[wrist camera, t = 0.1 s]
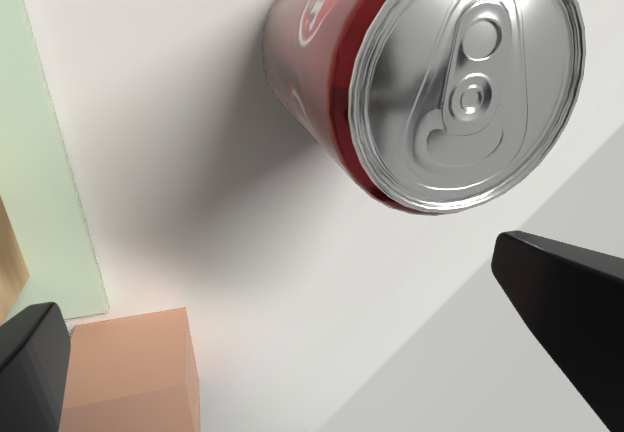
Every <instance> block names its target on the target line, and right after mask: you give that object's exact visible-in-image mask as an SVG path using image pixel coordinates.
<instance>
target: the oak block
mask: <svg viewBox="0 0 624 432" xmlns="http://www.w3.org/2000/svg"><path fill="white" fill-rule="evenodd" d="M29 277H30V274H29V272H28V269H27V266H26V263H25V261H24V258H23V255H22V253H21V250H20V247H19V245H18V242H17V239H16V237H15V234H14V231H13V228H12V226H11V223H10V220H9V218H8V215H7V212H6V210H5V207H4V204H3V201H2V199H1V196H0V326H1V325H2V324H3V322H4V320H5V319H6V317H7V315H8V313H9V312H10V310H11V308H12V306H13V305H14V303H15V301H16V299H17V298H18V296H19V294H20V292H21V291H22V289H23V287H24V285H25V284H26V282H27V280H28V278H29Z"/></svg>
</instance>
